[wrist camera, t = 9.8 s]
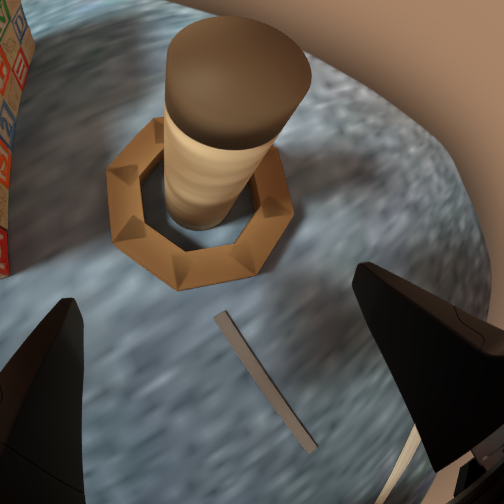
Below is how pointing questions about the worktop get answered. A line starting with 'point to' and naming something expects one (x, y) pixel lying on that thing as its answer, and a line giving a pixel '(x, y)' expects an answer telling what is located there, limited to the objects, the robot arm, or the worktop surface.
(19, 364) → the robot arm
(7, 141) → the stack of blocks
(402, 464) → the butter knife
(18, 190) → the worktop surface
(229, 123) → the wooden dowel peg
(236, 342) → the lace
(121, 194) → the faceted ring
